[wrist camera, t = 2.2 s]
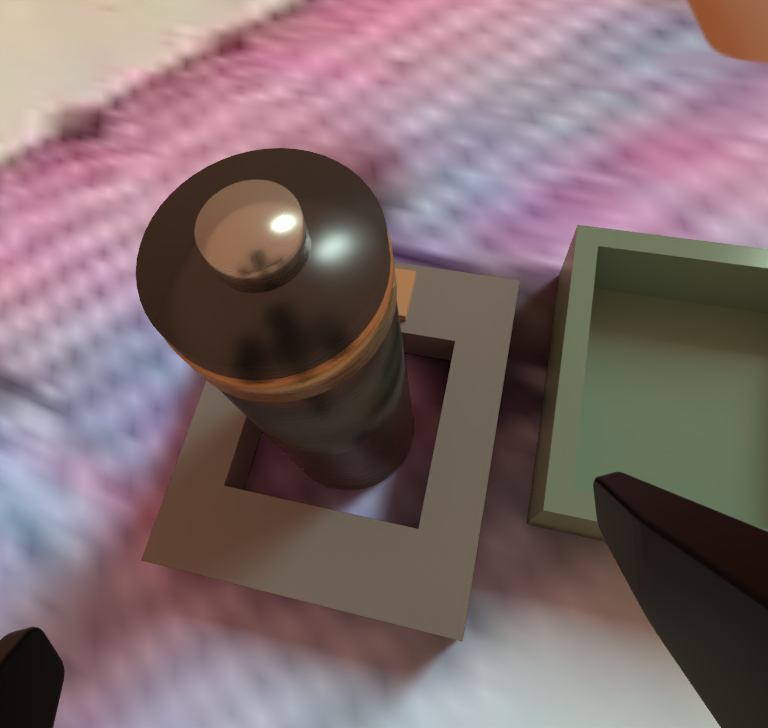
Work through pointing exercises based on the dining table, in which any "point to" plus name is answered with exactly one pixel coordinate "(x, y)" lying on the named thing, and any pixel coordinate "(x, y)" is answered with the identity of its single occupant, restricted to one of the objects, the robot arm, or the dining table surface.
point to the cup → (655, 377)
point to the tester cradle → (343, 530)
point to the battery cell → (287, 307)
